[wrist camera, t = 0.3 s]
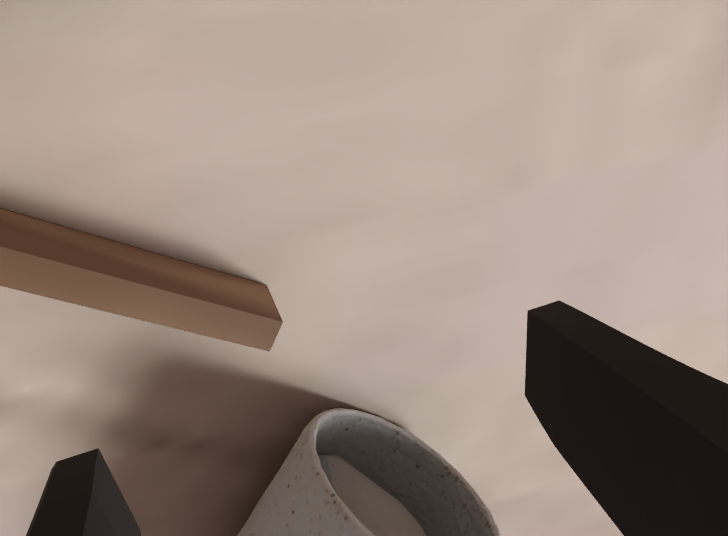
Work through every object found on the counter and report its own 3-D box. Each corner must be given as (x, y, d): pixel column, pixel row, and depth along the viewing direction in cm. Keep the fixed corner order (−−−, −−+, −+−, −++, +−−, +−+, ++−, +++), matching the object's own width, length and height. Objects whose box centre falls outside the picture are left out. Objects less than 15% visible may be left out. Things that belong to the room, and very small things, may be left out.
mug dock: (117, 632, 25) (116, 696, 23) (-250, 617, 21) (-293, 694, 18) (266, 285, 22) (282, 322, 19) (-141, 167, 17) (-181, 198, 15)
